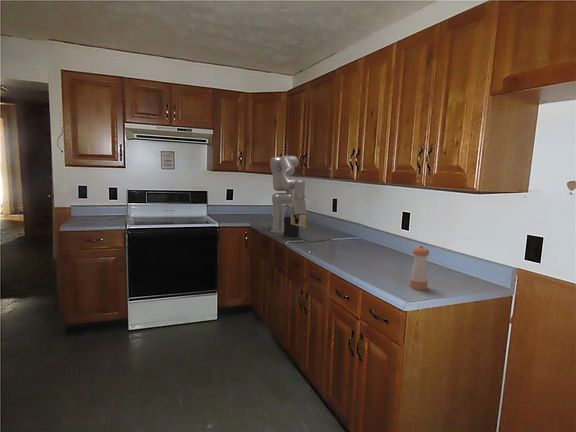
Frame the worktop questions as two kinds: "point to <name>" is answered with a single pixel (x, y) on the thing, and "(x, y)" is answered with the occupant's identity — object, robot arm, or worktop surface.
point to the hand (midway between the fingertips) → (298, 223)
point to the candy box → (299, 221)
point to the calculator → (290, 228)
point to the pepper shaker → (419, 269)
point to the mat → (316, 239)
